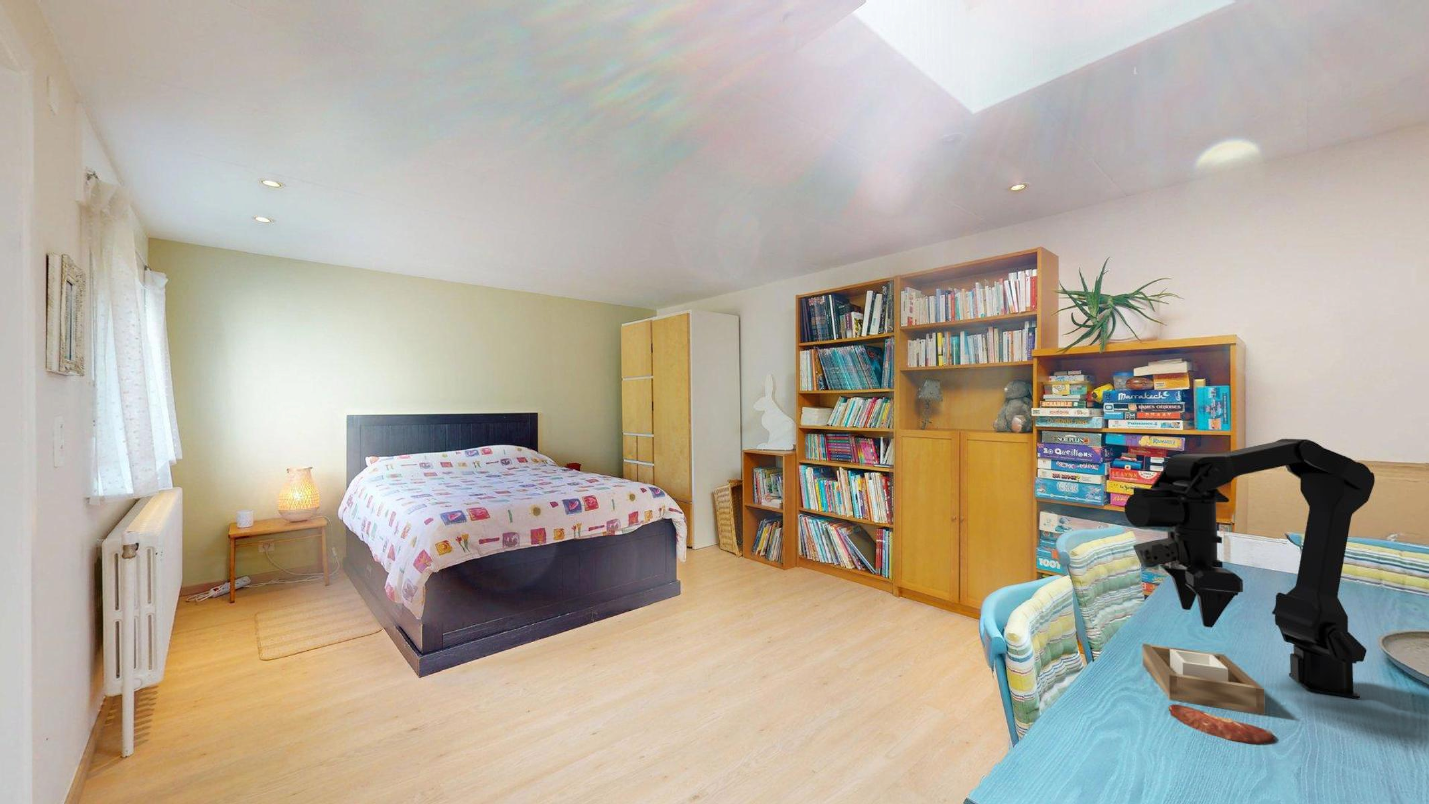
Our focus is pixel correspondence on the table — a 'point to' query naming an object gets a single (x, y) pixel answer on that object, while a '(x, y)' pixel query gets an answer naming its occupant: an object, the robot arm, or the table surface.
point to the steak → (1221, 726)
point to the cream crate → (1197, 665)
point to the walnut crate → (1205, 683)
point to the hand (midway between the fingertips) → (1196, 617)
